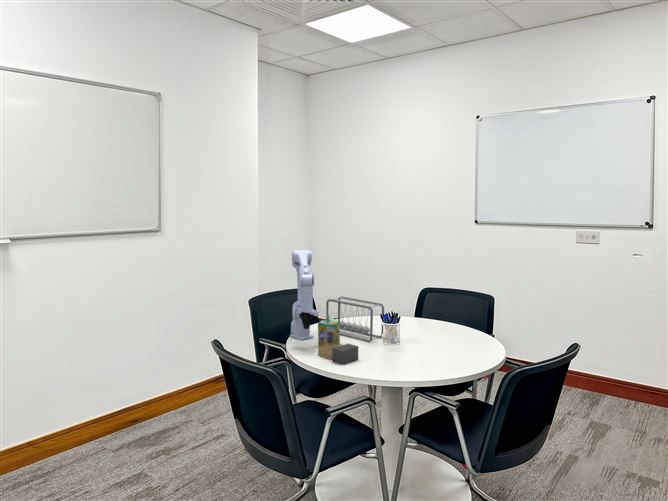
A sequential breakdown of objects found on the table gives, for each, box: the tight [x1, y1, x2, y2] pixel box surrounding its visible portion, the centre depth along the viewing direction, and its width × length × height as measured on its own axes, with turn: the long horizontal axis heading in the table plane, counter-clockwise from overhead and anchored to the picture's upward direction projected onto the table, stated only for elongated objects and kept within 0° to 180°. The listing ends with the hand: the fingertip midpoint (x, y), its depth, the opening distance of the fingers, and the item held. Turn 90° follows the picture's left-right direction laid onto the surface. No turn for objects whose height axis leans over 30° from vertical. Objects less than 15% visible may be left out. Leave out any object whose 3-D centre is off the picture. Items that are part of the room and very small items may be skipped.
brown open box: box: [317, 343, 341, 361], centre depth 226 cm, size 10×8×4 cm
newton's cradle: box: [325, 296, 385, 343], centre depth 261 cm, size 30×10×18 cm, turn 49°
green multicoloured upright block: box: [317, 313, 341, 347], centre depth 243 cm, size 9×9×15 cm
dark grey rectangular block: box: [332, 343, 359, 366], centre depth 223 cm, size 14×10×6 cm
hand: (306, 328), depth 237 cm, fingers closed
